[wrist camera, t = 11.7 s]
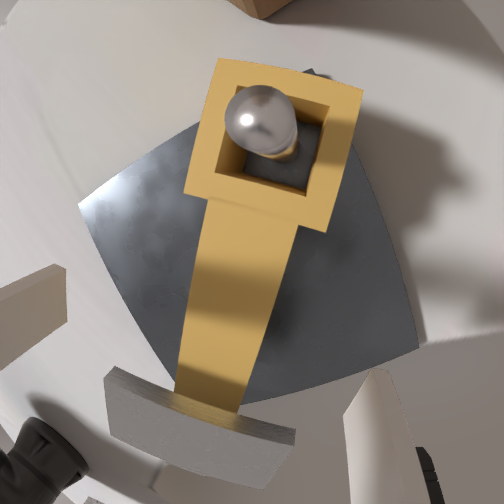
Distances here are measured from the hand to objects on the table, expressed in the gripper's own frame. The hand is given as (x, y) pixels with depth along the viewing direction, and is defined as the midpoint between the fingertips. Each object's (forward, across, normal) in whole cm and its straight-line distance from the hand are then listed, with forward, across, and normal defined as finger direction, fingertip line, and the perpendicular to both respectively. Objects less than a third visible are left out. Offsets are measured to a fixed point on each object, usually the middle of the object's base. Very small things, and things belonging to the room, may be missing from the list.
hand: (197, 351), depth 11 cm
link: (+9, 0, +2) cm, 10 cm away
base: (+10, 0, 0) cm, 10 cm away
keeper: (+11, 0, -8) cm, 13 cm away
